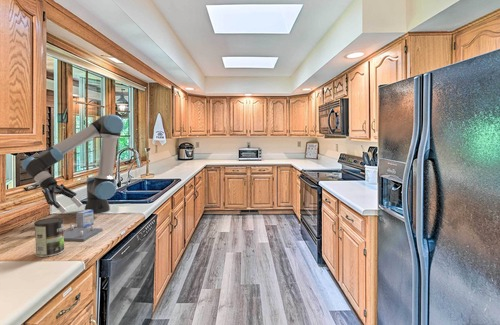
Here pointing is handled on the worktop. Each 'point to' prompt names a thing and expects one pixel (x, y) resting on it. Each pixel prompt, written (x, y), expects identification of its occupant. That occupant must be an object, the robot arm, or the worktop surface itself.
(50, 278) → the worktop surface
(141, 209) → the worktop surface
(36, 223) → the coffee can
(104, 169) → the robot arm
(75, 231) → the pin tray
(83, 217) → the medicine box
